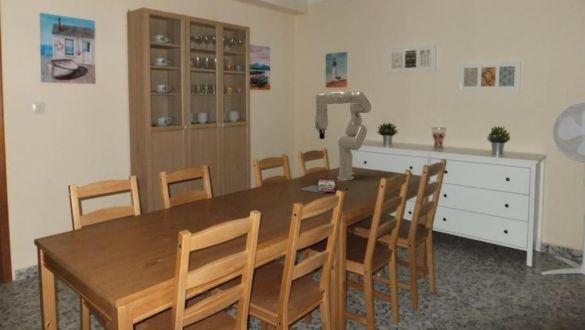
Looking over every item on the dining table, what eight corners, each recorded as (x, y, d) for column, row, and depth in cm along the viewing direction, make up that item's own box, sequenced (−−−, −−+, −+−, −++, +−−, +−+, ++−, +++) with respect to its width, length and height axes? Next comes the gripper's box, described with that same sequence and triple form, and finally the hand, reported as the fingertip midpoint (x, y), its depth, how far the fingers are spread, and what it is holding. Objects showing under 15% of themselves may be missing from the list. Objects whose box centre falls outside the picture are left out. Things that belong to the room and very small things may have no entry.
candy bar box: (318, 186, 297) (317, 191, 281) (318, 179, 297) (317, 184, 280) (334, 187, 296) (335, 192, 280) (335, 179, 296) (335, 184, 280)
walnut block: (338, 187, 297) (338, 179, 296) (347, 188, 295) (347, 179, 294) (335, 189, 292) (335, 180, 291) (344, 190, 289) (344, 181, 288)
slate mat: (312, 186, 302) (312, 185, 301) (334, 189, 291) (334, 188, 291) (299, 190, 290) (299, 189, 290) (322, 193, 279) (322, 192, 279)
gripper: (322, 111, 309) (323, 137, 312) (310, 112, 297) (311, 139, 301) (332, 111, 305) (332, 137, 308) (320, 113, 293) (320, 140, 296)
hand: (322, 138), depth 304 cm, fingers closed
